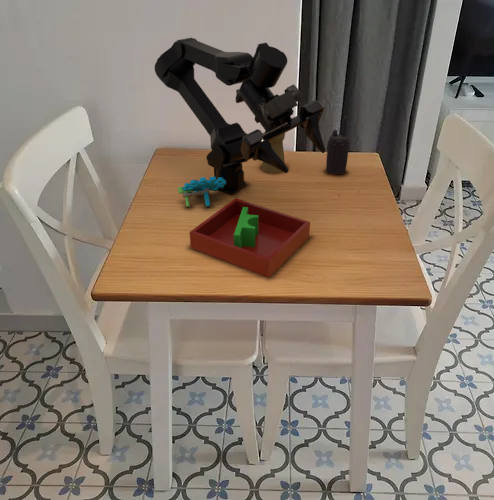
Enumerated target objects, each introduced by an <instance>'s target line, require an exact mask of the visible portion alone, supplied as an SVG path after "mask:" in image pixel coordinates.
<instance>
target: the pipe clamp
mask: <svg viewBox="0 0 494 500" xmlns="http://www.w3.org/2000/svg"><path fill="white" fill-rule="evenodd" d="M255 235H258V215H248V207H243V208H242V212H241V215H240V218H239V221H238V224H237V227H236V230H235V233H234V246H237V247H240V248H242V246H248V247H255Z"/></svg>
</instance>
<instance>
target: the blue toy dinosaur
mask: <svg viewBox="0 0 494 500" xmlns="http://www.w3.org/2000/svg"><path fill="white" fill-rule="evenodd" d="M183 184H184V186H178V187H177V191H178V194H179V195H180V194H181V195H182V198H184V200H185V205H186V208H189V207H190V206H191V204H190V199H189V198H191V197H192V198H193V197H197V196H203V197H204V203H205V207H207V208H208V207H211V201H210V195H209V194H210V191H213V192H217V191H219V190H218V188H224V185H225V184H226V180H224V179H223V178H222V177H219V178H218V179H217V180H216V177H215V176H214V175H213V176H209V179H207V178H206V177H205V176H202V177H199V180H196V179H191V180H189V182H186V183H183Z"/></svg>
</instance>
